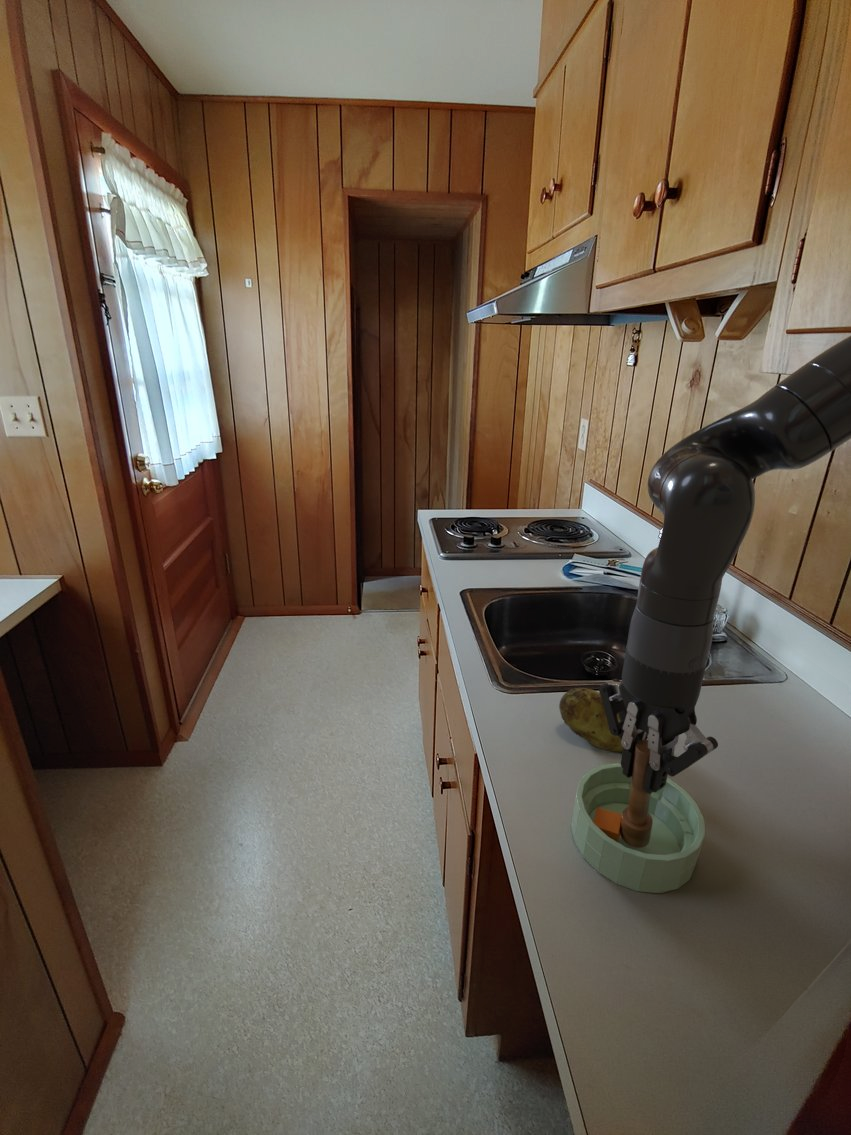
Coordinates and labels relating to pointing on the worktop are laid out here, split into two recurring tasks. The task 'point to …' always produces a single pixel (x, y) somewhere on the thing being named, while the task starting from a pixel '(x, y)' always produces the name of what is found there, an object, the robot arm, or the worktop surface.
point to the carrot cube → (608, 823)
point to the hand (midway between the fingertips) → (640, 780)
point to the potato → (589, 718)
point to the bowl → (670, 839)
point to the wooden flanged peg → (638, 802)
